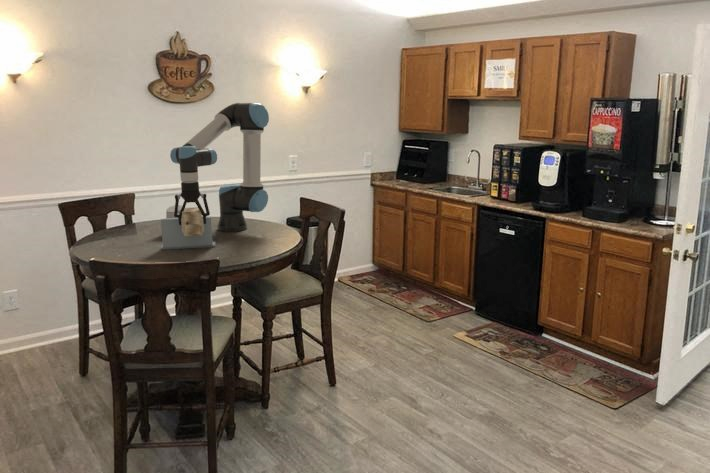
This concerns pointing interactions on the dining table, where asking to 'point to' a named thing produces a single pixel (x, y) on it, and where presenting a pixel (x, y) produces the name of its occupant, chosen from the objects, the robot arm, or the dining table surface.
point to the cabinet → (192, 222)
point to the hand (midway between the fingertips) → (193, 231)
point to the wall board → (177, 240)
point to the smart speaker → (172, 211)
